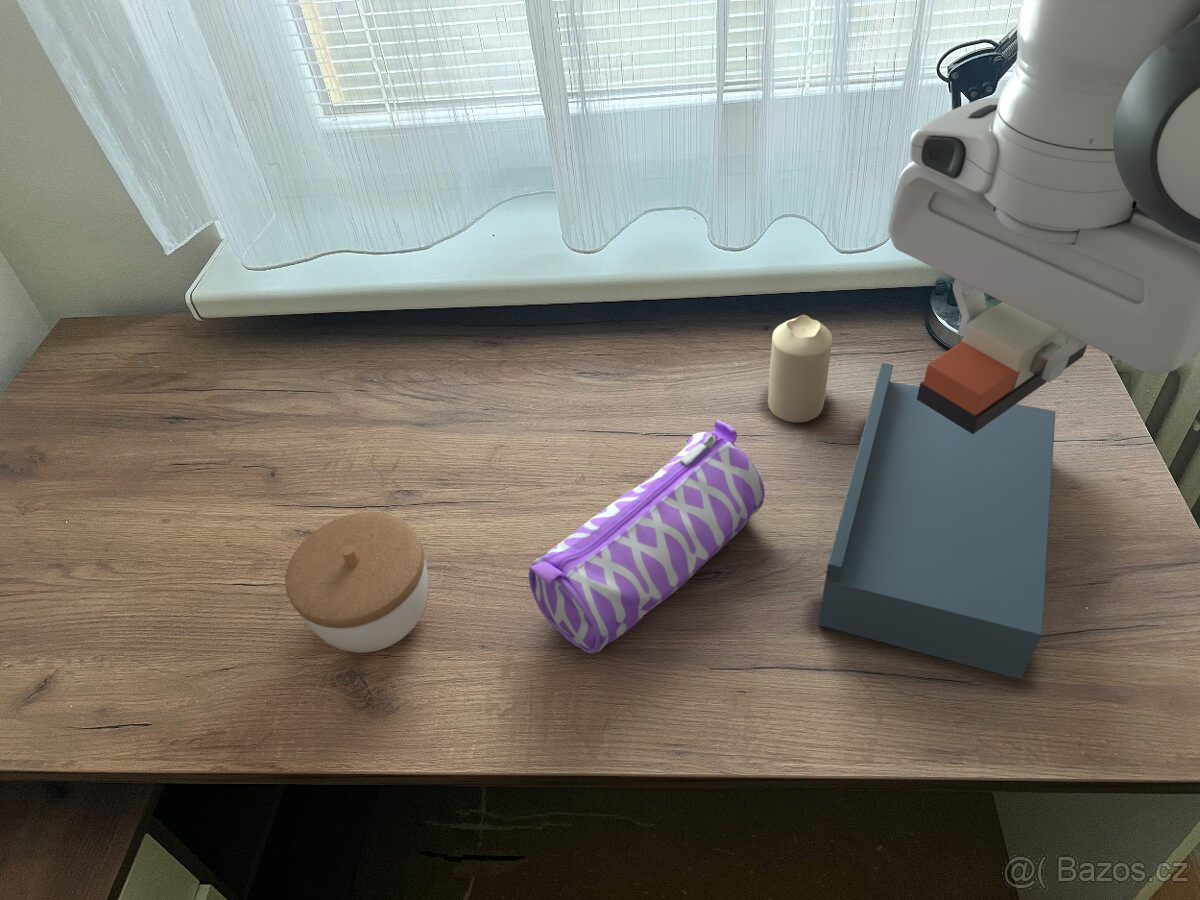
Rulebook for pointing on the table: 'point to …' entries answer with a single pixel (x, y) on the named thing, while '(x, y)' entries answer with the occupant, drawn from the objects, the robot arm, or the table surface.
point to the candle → (799, 369)
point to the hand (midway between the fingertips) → (1007, 353)
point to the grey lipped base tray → (945, 533)
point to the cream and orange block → (988, 367)
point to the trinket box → (360, 581)
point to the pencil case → (647, 541)
